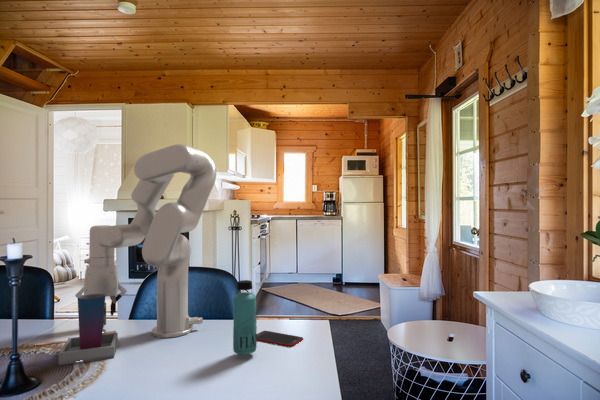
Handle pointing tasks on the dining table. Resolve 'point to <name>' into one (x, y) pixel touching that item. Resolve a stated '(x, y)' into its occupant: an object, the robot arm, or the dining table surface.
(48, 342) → the crank base
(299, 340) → the cell phone
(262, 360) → the dining table surface
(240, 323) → the beverage bottle
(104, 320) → the crank
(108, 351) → the tray
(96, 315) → the cup
